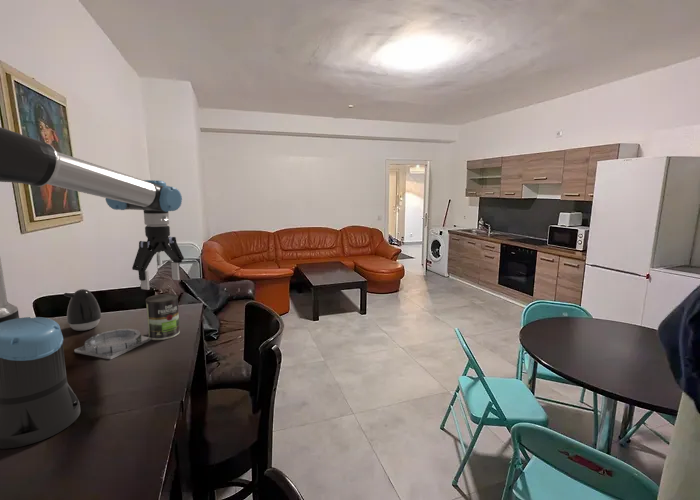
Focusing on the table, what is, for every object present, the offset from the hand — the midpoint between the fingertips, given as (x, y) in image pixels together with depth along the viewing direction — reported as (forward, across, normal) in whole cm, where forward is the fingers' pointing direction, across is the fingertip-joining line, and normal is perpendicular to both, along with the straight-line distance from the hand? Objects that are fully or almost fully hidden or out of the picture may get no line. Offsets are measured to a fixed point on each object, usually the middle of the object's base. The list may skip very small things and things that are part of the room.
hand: (161, 284), depth 121 cm
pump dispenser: (+19, -5, +32) cm, 38 cm away
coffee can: (+19, 0, 0) cm, 19 cm away
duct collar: (+19, -13, +8) cm, 24 cm away
